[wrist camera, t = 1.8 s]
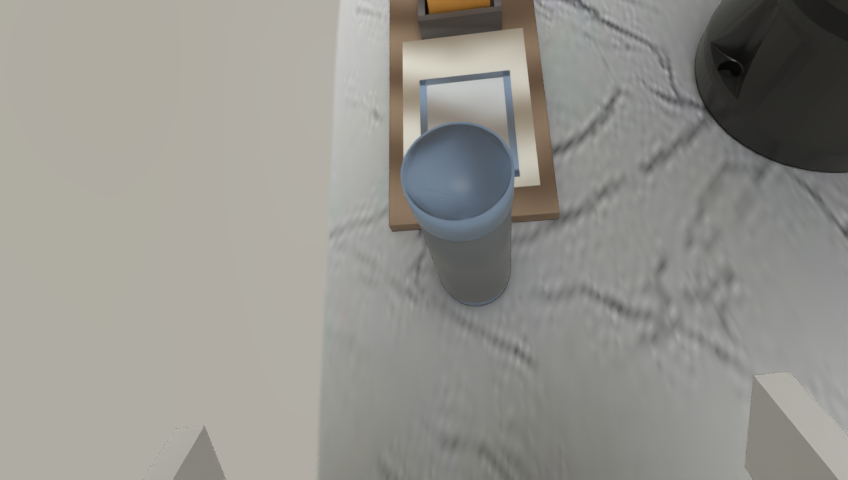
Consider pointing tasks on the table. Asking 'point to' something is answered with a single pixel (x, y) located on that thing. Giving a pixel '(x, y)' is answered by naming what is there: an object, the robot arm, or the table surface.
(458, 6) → the button
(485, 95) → the wooden board
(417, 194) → the cup
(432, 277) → the table surface
